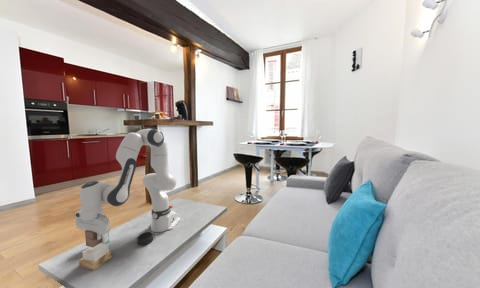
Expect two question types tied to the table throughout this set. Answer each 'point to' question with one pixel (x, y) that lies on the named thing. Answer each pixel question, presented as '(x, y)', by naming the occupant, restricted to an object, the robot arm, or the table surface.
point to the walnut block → (92, 239)
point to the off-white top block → (95, 252)
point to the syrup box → (105, 238)
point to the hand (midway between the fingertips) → (94, 238)
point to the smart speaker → (145, 238)
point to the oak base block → (92, 264)
